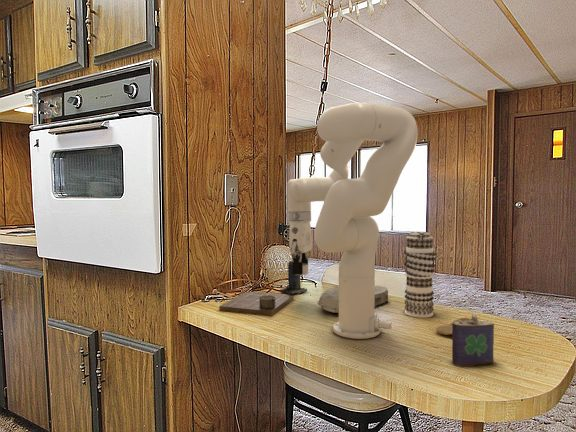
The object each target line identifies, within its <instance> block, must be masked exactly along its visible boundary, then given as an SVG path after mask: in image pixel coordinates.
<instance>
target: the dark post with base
mask: <svg viewBox="0 0 576 432" xmlns="http://www.w3.org/2000/svg"><path fill="white" fill-rule="evenodd" d="M287 275H288V277H287V279H288V287H285V288H282V289H281V288H280V289H279V291H280V293H287V295H293V296H294V295H295V294H297V295H300V293H301V294H302V293H304V292H305V293H306V292H308V288H306V287H302V286H301V275H294V274H293V262H292V260H289V262H288V263H287Z"/></svg>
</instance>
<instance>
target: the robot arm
mask: <svg viewBox="0 0 576 432" xmlns="http://www.w3.org/2000/svg"><path fill="white" fill-rule="evenodd" d="M316 130H317V131H316V132H317V135H318V137H319V138H320V140H322V141H325V143H324V144H323V146H322V147H321V149H320V152H319V154H320V158H321V161H322V162H324V164H325V165H327V167H329V168H330V169H332V171H331V173H329V175H328V176H313V177H312V176H305V177H304V176H303V177H299V178H293V179H289V180H288V181H287V185H286V187H287V188H286V190H287V192H286V193H287V222H288V223H289V232H288V241H289V242H288V244H289V245H288V247H289V252H290V256H291V261H292V262H293V274H296V275H300V276H303V275H302V274H303V263H305V264H308V265H309V252H310V251H312V249H313V240H312V238H313V235H312V226H311V222H312V203H313V202H323V204H322V207H321V209H320V211H319V214H318V218H317V219H316V220H317V221H316V223H315V227H314V233H313V234H314V242H315V245H316V246H317V248H318V249H319V250H320V251H321V252H324V253H331V254H332V253H333V254H335V253H342V255H341V257H340V259H339V264H338V287H339V313H338V321H337V322H335V323H334V324H333V325H332V331H333V332H334V333H335V335H337V336H340V337H342V338H346V339H355V340H367V339H371V338H372V339H373V338H375V337H377V336H379V335H380V334H381V329H384V330H392V322H391V321H389V320H388V319H381V318H379V317H378V313H376V312H375V306H374V304H375V286H376V285H375V284H376V283H375V281H376V279H375V277H376V275H375V274H376V253H377V249H378V248H377V247H378V242H379V236H380V230H379V225H378V223H377V221H376V219H374V218H373V217H376V216H379V215H381V214H382V213H384V211H385V210H386V208H387V206H388V204H389V201H390V199H391V197H392V195H393V192H394V190H395V188H396V186H397V184H398V181H399V179H400V177H401V174H402V172H403V170H404V168H405V167H406V165H407V163H408V162H409V160H410V158H411V156H412V155H413V153H414V151H415V148H416V145H417V143H418V137H419V136H418V135H419V133H418V132H419V131H418V125H417V121H416V119H415V117H414V116H413V114H412V113H411V112H410V111H408V110H406V109H404V108H401V107H399V106H393V105H386V104H377V103H369V102H351V103H347V104H342V105H336V106H331V107H329V108H327V109H325V110H324V111H323V112H322V113H321V114H320V117H319V118H318V121H317V125H316ZM366 141H367V142H382V144H381V145H380V146H379V147H378V148H377V149H376V150H375V151H374V152H373V153H372V154H371V155H370V157H369V159H368V160H367V162H366V164H365V167H364V169H363V171H362V173H361V175H360V176H359V177H357V178H349V167H348V164H349V163H350V161H351V160H352V158H353V157H354V156H355V154H356V153H357V151H358V150H359V149H360V147H361V146H362V145H363V143H364V142H366Z"/></svg>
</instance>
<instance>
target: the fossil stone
mask: <svg viewBox="0 0 576 432" xmlns="http://www.w3.org/2000/svg"><path fill="white" fill-rule="evenodd" d="M388 300H389V290H388V288H387V287H386V286H382V285H375V304H374V307H377V306H378V305H379V306H381V304H385V303H386V302H387V301H388ZM317 305H318V306H319V307H321V308H322V309H323V310H325V311H326V312H330V313H334V314H335V313H336V314H339V286H338V285H334V286H333V287H330V288H328V289H327V290H325V291H324V292H322V293H321V295H320V297H319V300H318V301H317Z"/></svg>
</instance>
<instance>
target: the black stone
mask: <svg viewBox="0 0 576 432" xmlns="http://www.w3.org/2000/svg"><path fill="white" fill-rule="evenodd" d="M259 307H260V308H262V309H272V308H274V307H275V297H274V296H270V295H266V296H261V297H259Z"/></svg>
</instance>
